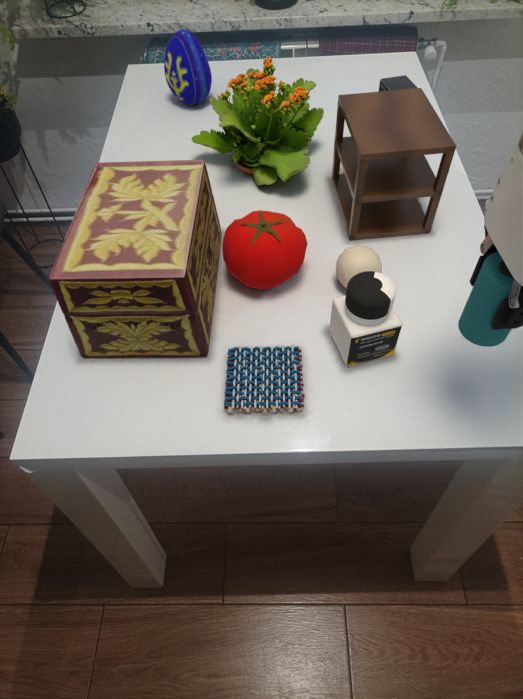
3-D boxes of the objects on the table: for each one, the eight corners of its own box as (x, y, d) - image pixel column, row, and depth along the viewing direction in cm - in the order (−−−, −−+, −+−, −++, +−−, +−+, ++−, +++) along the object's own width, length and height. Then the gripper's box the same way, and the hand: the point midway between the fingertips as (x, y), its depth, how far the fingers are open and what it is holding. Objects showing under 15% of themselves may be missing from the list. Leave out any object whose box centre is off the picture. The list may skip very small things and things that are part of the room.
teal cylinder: (496, 308, 54) (528, 245, 47) (515, 344, 51) (552, 283, 43) (451, 313, 54) (476, 251, 47) (467, 349, 51) (496, 289, 43)
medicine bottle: (346, 368, 66) (356, 311, 56) (328, 330, 70) (334, 271, 60) (393, 356, 67) (411, 298, 57) (373, 319, 71) (386, 259, 61)
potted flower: (179, 187, 93) (160, 95, 79) (215, 124, 106) (204, 37, 92) (305, 201, 88) (309, 107, 74) (325, 134, 102) (332, 44, 88)
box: (411, 144, 98) (423, 91, 89) (385, 148, 97) (394, 96, 89) (396, 125, 102) (406, 73, 94) (371, 129, 102) (379, 77, 93)
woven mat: (305, 415, 62) (305, 407, 60) (224, 415, 62) (222, 408, 60) (302, 350, 68) (302, 342, 66) (228, 351, 68) (227, 343, 67)
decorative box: (119, 233, 85) (91, 157, 73) (222, 231, 84) (211, 153, 72) (81, 358, 69) (37, 286, 57) (208, 357, 68) (190, 284, 56)
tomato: (222, 301, 74) (214, 250, 66) (227, 248, 81) (220, 196, 73) (307, 300, 74) (310, 248, 65) (305, 246, 81) (307, 193, 72)
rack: (402, 172, 92) (421, 87, 79) (429, 233, 81) (456, 145, 69) (331, 179, 92) (338, 94, 79) (349, 240, 81) (361, 154, 68)
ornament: (163, 102, 113) (148, 31, 101) (191, 87, 117) (180, 17, 105) (194, 116, 109) (183, 43, 97) (223, 100, 113) (215, 28, 100)
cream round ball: (365, 262, 78) (371, 230, 72) (384, 293, 74) (392, 261, 68) (327, 272, 77) (330, 240, 72) (344, 303, 73) (348, 272, 67)
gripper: (702, 205, 30) (568, 367, 44) (572, 80, 40) (498, 245, 54) (583, 218, 30) (489, 376, 44) (484, 89, 40) (434, 252, 54)
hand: (495, 302), depth 49 cm, fingers closed on teal cylinder, 5 cm apart
